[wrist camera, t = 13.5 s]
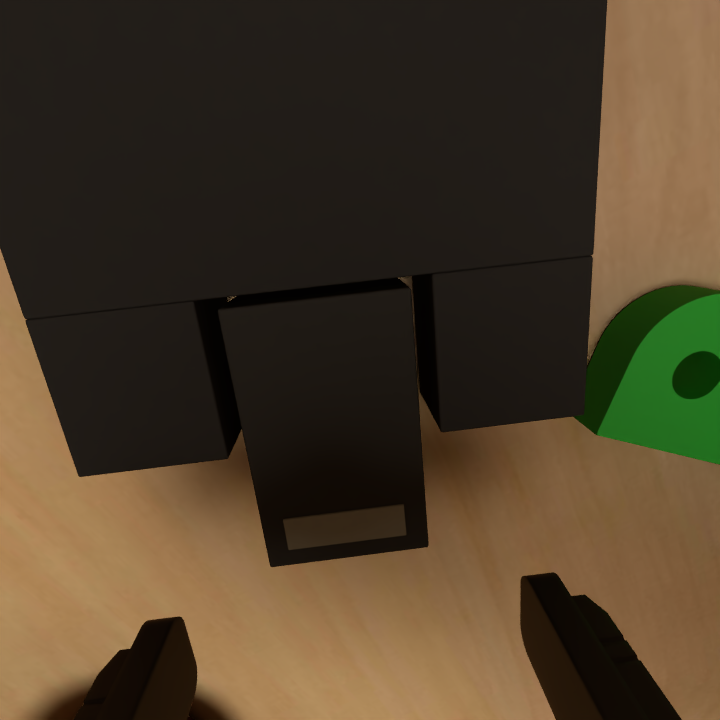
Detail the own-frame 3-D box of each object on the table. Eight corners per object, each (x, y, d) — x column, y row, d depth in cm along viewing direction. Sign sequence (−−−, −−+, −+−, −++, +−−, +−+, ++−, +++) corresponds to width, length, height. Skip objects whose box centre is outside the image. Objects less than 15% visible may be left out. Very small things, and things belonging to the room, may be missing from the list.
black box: (394, 274, 16) (411, 287, 12) (411, 489, 18) (429, 549, 15) (241, 291, 15) (215, 310, 12) (281, 505, 18) (269, 569, 15)
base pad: (544, -60, 13) (616, -159, 10) (536, 378, 17) (585, 415, 14) (1, -8, 13) (-119, -92, 9) (129, 427, 17) (78, 477, 13)
